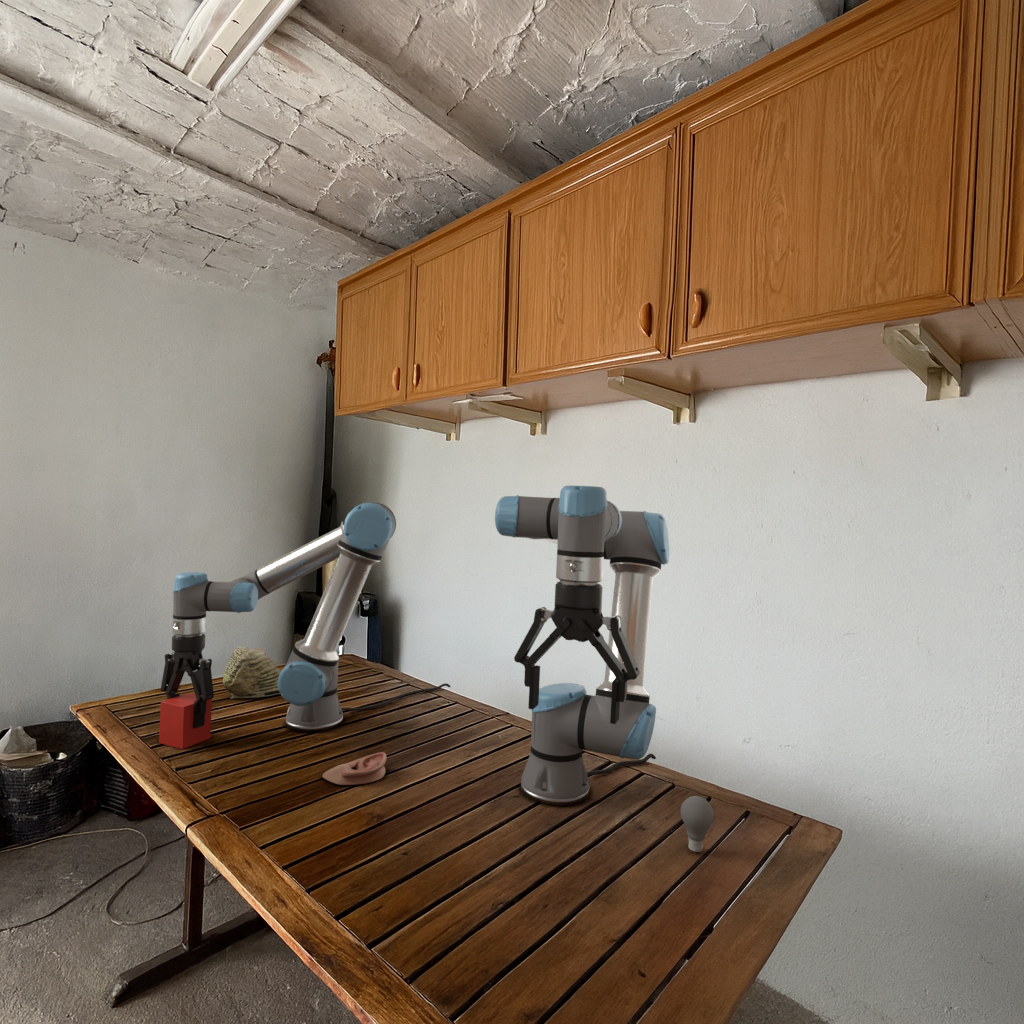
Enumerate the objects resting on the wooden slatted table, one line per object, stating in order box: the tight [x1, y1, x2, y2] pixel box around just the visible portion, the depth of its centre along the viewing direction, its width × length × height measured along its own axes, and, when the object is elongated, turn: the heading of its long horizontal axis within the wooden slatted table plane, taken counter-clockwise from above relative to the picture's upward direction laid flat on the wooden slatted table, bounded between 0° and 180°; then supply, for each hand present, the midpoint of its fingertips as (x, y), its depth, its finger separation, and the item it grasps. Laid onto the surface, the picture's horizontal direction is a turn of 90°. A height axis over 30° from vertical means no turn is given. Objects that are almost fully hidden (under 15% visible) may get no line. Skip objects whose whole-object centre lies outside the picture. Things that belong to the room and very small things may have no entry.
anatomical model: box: [321, 751, 387, 786], centre depth 144 cm, size 13×4×12 cm
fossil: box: [222, 646, 281, 699], centre depth 198 cm, size 9×18×15 cm, turn 132°
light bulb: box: [680, 795, 715, 853], centre depth 119 cm, size 6×6×10 cm
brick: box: [158, 692, 213, 750], centre depth 160 cm, size 8×8×10 cm
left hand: (185, 723), depth 160 cm, fingers open, 8 cm apart
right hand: (573, 714), depth 102 cm, fingers open, 13 cm apart
